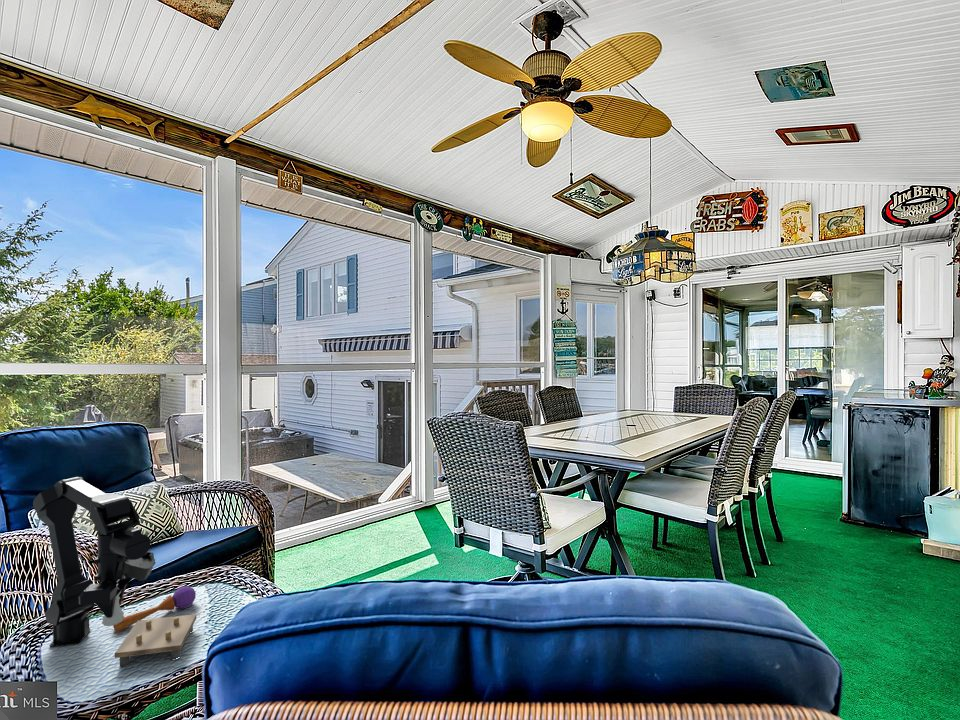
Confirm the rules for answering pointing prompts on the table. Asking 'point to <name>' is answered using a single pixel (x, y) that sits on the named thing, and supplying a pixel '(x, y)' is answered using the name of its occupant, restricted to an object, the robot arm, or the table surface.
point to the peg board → (156, 637)
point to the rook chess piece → (114, 614)
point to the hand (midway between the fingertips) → (113, 613)
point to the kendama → (161, 607)
